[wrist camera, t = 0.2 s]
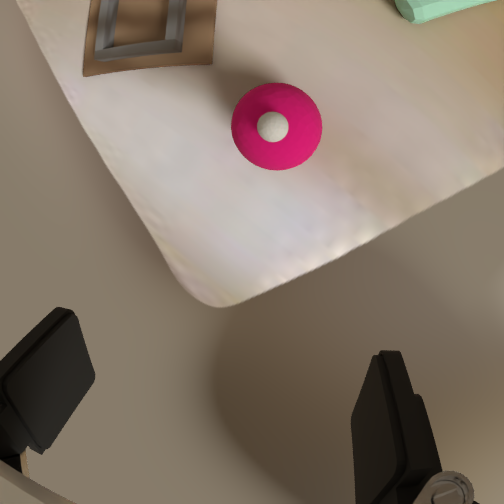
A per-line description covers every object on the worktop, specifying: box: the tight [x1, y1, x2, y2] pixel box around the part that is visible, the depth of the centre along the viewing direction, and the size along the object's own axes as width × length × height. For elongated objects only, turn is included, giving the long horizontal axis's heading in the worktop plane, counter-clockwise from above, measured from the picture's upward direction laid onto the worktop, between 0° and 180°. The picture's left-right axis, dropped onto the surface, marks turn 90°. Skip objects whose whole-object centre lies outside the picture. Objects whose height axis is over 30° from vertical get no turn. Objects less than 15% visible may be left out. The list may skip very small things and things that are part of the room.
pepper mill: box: [231, 83, 322, 170], centre depth 26 cm, size 7×7×20 cm
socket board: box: [83, 0, 217, 77], centre depth 30 cm, size 14×18×3 cm
